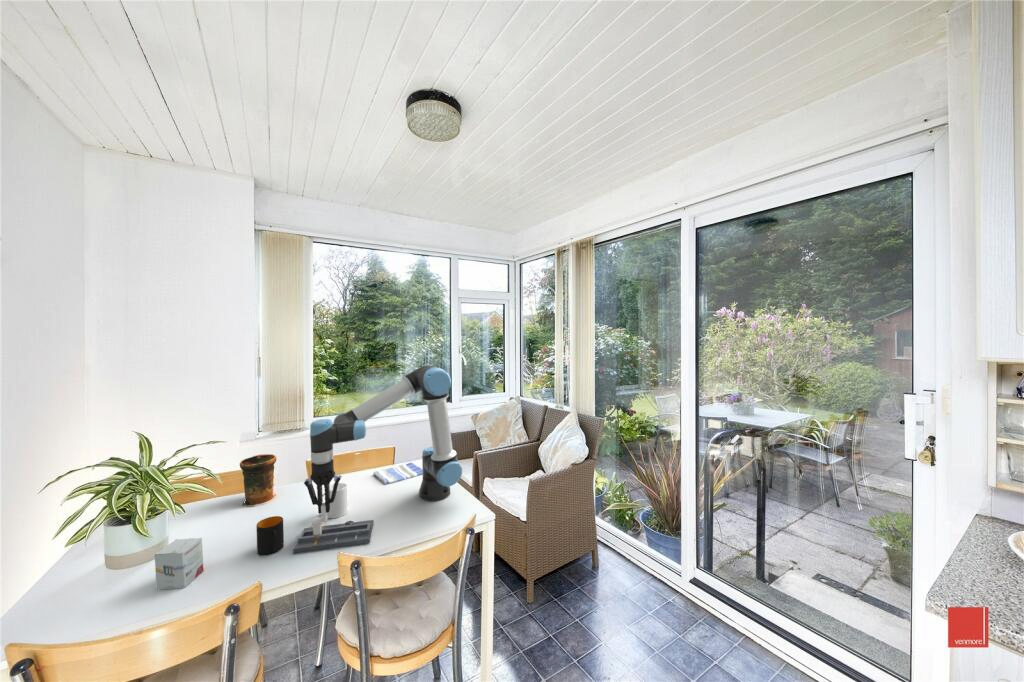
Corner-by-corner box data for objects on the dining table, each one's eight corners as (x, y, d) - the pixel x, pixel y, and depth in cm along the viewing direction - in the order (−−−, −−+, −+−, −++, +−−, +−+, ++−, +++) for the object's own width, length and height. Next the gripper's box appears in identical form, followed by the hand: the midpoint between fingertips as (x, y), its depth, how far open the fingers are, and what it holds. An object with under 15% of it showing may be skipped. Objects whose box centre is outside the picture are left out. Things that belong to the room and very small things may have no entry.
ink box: (177, 572, 123) (176, 537, 123) (204, 570, 124) (203, 536, 124) (154, 590, 115) (153, 553, 114) (184, 588, 116) (182, 552, 115)
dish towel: (372, 476, 203) (372, 471, 203) (412, 465, 218) (412, 461, 218) (384, 486, 190) (384, 481, 190) (425, 474, 205) (425, 470, 205)
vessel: (279, 501, 172) (276, 459, 171) (241, 510, 164) (238, 467, 163) (278, 490, 184) (275, 451, 183) (242, 498, 176) (240, 457, 175)
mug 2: (319, 522, 154) (318, 494, 154) (317, 513, 162) (317, 487, 161) (349, 515, 160) (349, 488, 160) (346, 506, 168) (346, 481, 167)
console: (373, 524, 153) (373, 517, 153) (369, 543, 139) (369, 535, 139) (304, 533, 146) (304, 525, 146) (293, 554, 133) (292, 545, 133)
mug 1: (263, 563, 128) (262, 534, 127) (254, 549, 136) (253, 522, 135) (290, 552, 134) (289, 525, 133) (280, 539, 142) (279, 513, 141)
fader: (323, 531, 144) (322, 516, 143) (320, 537, 140) (320, 522, 139) (314, 532, 143) (314, 517, 143) (311, 538, 139) (311, 523, 139)
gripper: (342, 455, 146) (344, 513, 147) (306, 458, 143) (308, 517, 144) (338, 462, 138) (340, 523, 140) (300, 466, 135) (302, 528, 136)
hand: (324, 520), depth 142 cm, fingers closed
